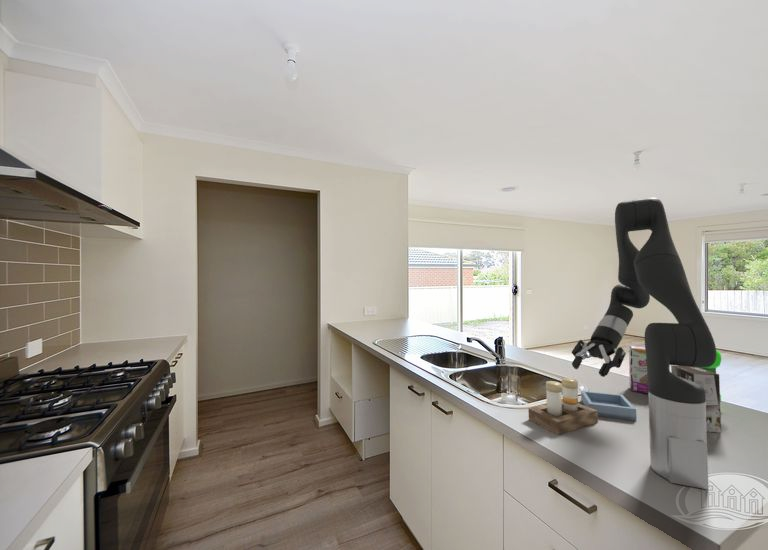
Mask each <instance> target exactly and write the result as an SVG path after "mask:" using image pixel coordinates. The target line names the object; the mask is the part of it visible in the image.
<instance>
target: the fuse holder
mask: <svg viewBox="0 0 768 550" xmlns="http://www.w3.org/2000/svg"><path fill="white" fill-rule="evenodd" d="M598 418H599V416H598V411H597V410H594V409H592V408H589V407H587V406H584V404H582V403H579V402H578V411H577V412H574V413H572V412H570V411H568V410H565V409H563V399H562V416H559V417H555V416H552V415H550V414H548V413H547V403H544V404H540V405H537V406H536V405H535V406H532V407H528V421H530V420H531V422H532V421H533V422H532V423H534V422H535V424H536V423H537V425H538V424H539V426H540V425H541V426H540V427H542V426H543V427H542V428H544V427H545V428H544V429H546V430H548V431H550V432H552V433H554V434H556V435H557V436H558V435H562V434H565V433H568V432H571V431H574V430H578V429H581V428H585V427H588V426H591V425H593V424H597V423H599V419H598Z"/></svg>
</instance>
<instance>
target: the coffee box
mask: <svg viewBox="0 0 768 550" xmlns="http://www.w3.org/2000/svg"><path fill="white" fill-rule="evenodd" d="M670 367H671V368H670V372H671V373H673V374H674V375H676V376H678V377H681V378H684V379H687V380H689V381H692V382H695V383H697V384H699V385H700V386H702V387H703V388H704V390H705V394H706V429H707V433H709V432H710V433H719V434H721V432H722V421H721V420H722V419H721V418H722V417H721V402H720V395H721V388H720V374H719V373H717V372H716V373H713V372H711V371H708V370H705V369H702V368H699V367H689V366H677V365H670Z"/></svg>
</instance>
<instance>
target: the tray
mask: <svg viewBox="0 0 768 550" xmlns="http://www.w3.org/2000/svg"><path fill="white" fill-rule="evenodd" d="M580 401H581V402H583V403H582V405H584V406H587V407H589V408H592V409H594V410H597V411H598V417H603V418H612V419H618V420H625V421H626V420H627V421H628V420H629V421H635V422H636V421H637V408H636V407H635V406H634V405H633V404H632V403H631V402H630V401H629V400H628V399H627V397H626V396H625V395H623V394H619V393H618V394H617V393H611V392H610V393H608V392H598V391H586V390H581V391H580Z"/></svg>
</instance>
